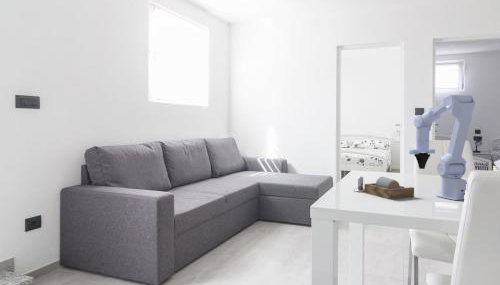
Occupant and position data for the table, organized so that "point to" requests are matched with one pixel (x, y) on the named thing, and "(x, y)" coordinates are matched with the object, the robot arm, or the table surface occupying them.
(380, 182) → the ceramic mug
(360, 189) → the stand post
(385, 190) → the wooden tray
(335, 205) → the table surface
